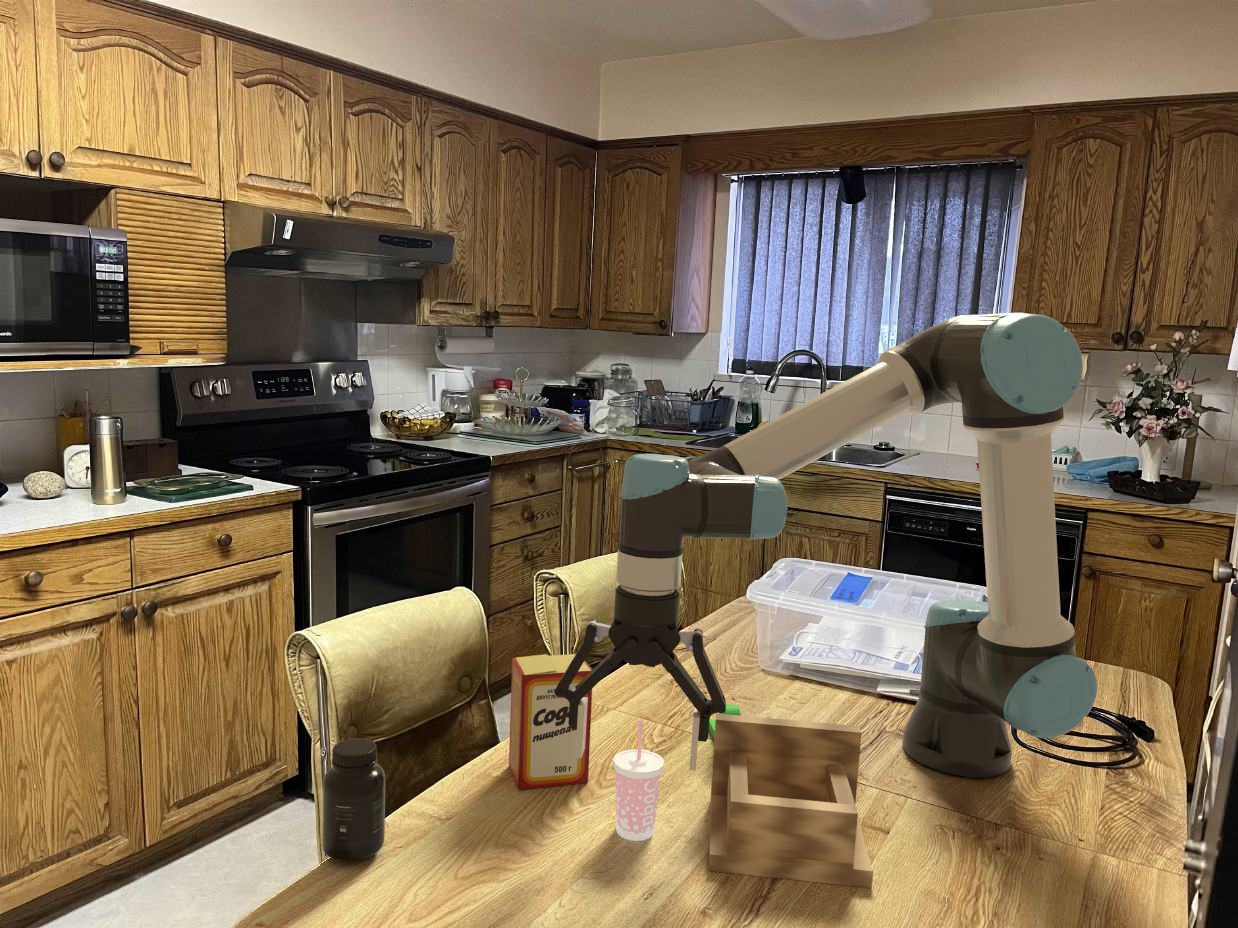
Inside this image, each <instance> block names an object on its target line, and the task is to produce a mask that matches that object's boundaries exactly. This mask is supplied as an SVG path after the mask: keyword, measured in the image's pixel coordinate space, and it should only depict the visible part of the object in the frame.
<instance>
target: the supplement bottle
mask: <svg viewBox="0 0 1238 928" xmlns="http://www.w3.org/2000/svg"><path fill="white" fill-rule="evenodd" d="M377 748H378V747H377V744H376V743H375V741H373V740H370V739H368V738H367V739H366V738H361V737H360V738H358V737H357V738H349V739H344V740H342V741H339V742H337V743H336V744H335V745H334V746H332V751H331V754H332V755H331V756H332V758H331V767H329V769H328V770H327V771H326V773H324V776H323V779H322V808H321V809H322V811H321V812H322V818H321V819H322V821H321V822H322V825H321V826H322V829H321V831H322V832H321V833H322V836H321V837H322V849H323V852H324V854H325V855H326V856H327V857H329V858H330V859H333V860H334V861H338V862H345V863H346V862H357V861H362V860H366V859H369V858H370V857H372V856H374V855H376V854H377V853H378V852H379V851H380V850H381V848H383V846H384V842H385V837H386V836H385V833H386V832H385V831H386V827H385V825H386V823H385V821H386V818H385V817H386V774H385V770H384V768H382V766H381V765H380V764H378V763H377V762H378V755H377V754H378V752H377Z"/></svg>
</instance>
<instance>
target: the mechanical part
mask: <svg viewBox="0 0 1238 928" xmlns="http://www.w3.org/2000/svg"><path fill="white" fill-rule="evenodd" d="M718 714H728V715H740V716H742V715H741V710H740V707H739V705H738V704H737V703H734V704H733V703H731V704H730V703H728V704H727V703H726V711H725V712H724V713H718ZM715 722H716V718H710V720H709V733H710V734H711V736H712V738H713V739H714V737H715Z"/></svg>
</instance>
